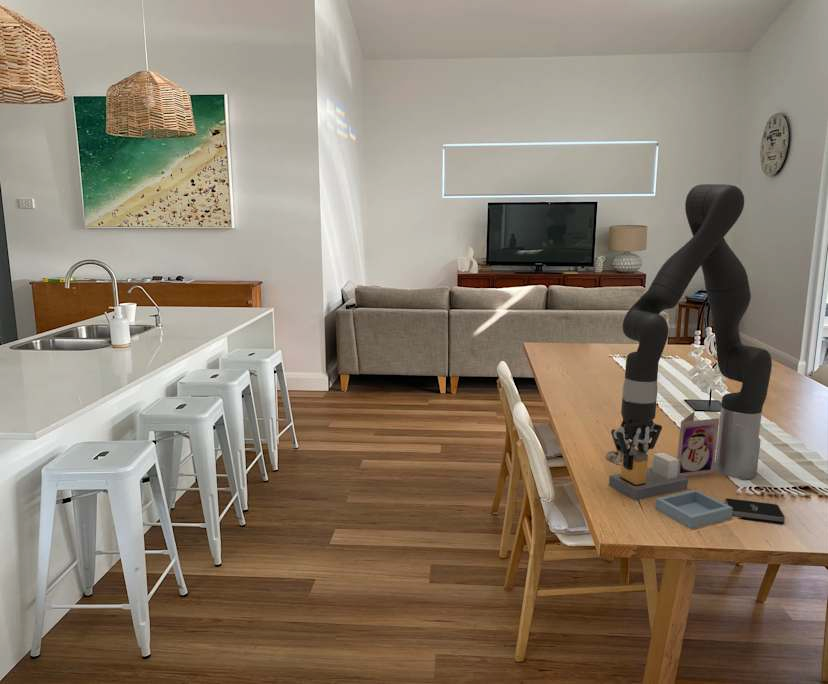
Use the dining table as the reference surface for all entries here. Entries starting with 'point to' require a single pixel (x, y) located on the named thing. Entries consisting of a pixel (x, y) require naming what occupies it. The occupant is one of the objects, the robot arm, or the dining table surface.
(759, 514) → the external hard drive
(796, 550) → the dining table surface
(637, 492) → the fuse holder
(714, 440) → the greeting card
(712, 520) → the parts tray
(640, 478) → the block
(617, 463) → the mineral rock
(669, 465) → the block
